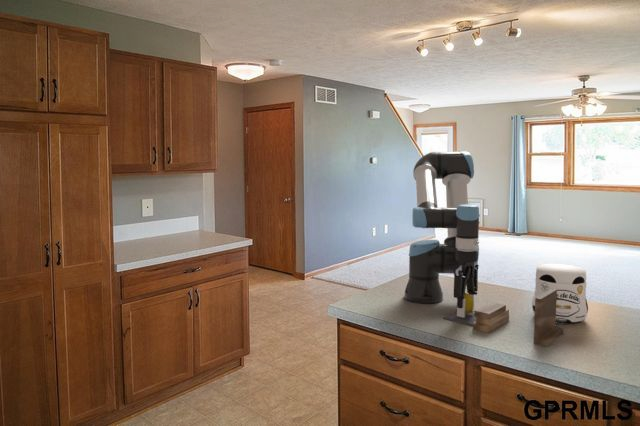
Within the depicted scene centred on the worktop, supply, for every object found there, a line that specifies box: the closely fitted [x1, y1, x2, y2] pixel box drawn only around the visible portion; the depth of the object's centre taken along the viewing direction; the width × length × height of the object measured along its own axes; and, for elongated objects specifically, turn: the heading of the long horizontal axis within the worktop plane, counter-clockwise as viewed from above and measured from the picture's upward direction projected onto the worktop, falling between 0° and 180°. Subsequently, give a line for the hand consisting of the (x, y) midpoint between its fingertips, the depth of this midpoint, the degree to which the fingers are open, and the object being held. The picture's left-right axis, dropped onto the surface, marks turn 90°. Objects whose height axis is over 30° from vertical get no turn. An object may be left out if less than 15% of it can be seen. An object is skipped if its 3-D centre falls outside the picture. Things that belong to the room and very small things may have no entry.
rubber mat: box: [442, 310, 476, 327], centre depth 166 cm, size 11×11×1 cm
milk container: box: [531, 263, 589, 325], centre depth 163 cm, size 17×17×18 cm
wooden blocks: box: [472, 289, 565, 348], centre depth 153 cm, size 23×16×14 cm
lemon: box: [464, 292, 473, 315], centre depth 166 cm, size 6×6×8 cm
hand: (465, 314), depth 166 cm, fingers closed on lemon, 6 cm apart
